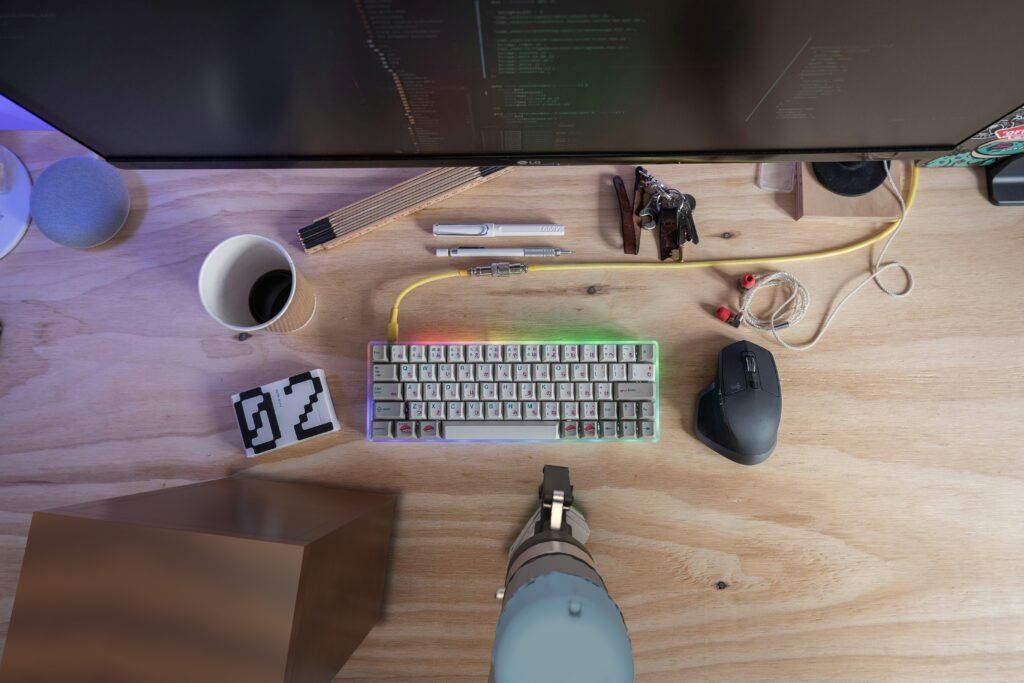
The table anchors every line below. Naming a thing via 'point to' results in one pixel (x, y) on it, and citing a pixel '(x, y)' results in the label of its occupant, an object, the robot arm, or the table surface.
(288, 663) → the shelf
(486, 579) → the table surface
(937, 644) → the table surface
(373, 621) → the shelf stand
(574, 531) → the ink box
